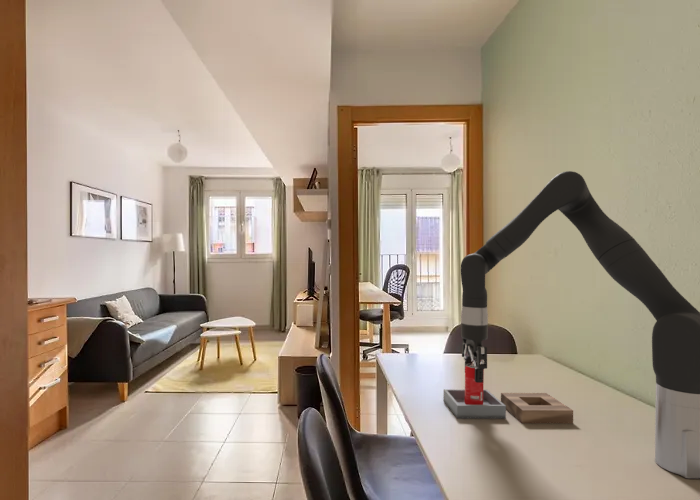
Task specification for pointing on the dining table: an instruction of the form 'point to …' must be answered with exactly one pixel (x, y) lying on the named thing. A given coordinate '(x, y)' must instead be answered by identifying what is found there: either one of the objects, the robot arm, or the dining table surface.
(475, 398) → the beverage can
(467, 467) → the dining table surface
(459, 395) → the tray
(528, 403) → the socket holder
